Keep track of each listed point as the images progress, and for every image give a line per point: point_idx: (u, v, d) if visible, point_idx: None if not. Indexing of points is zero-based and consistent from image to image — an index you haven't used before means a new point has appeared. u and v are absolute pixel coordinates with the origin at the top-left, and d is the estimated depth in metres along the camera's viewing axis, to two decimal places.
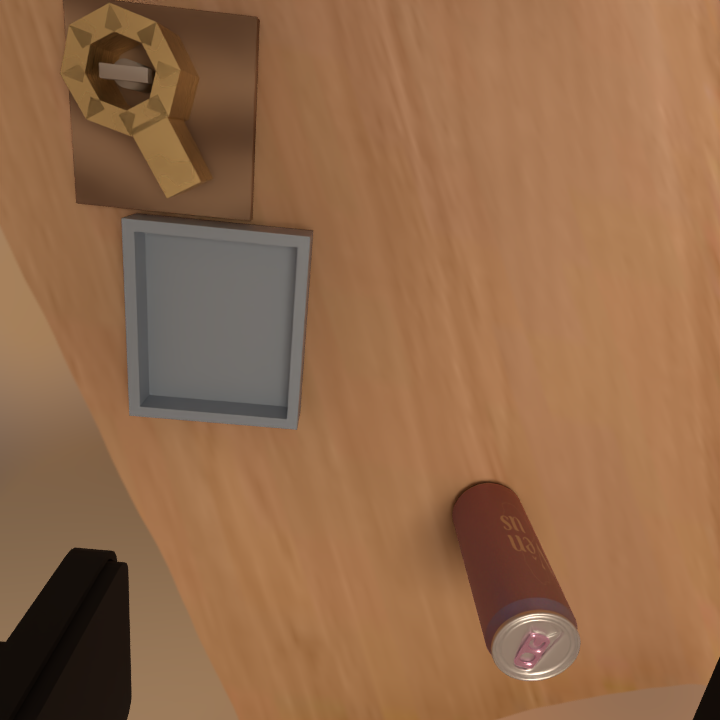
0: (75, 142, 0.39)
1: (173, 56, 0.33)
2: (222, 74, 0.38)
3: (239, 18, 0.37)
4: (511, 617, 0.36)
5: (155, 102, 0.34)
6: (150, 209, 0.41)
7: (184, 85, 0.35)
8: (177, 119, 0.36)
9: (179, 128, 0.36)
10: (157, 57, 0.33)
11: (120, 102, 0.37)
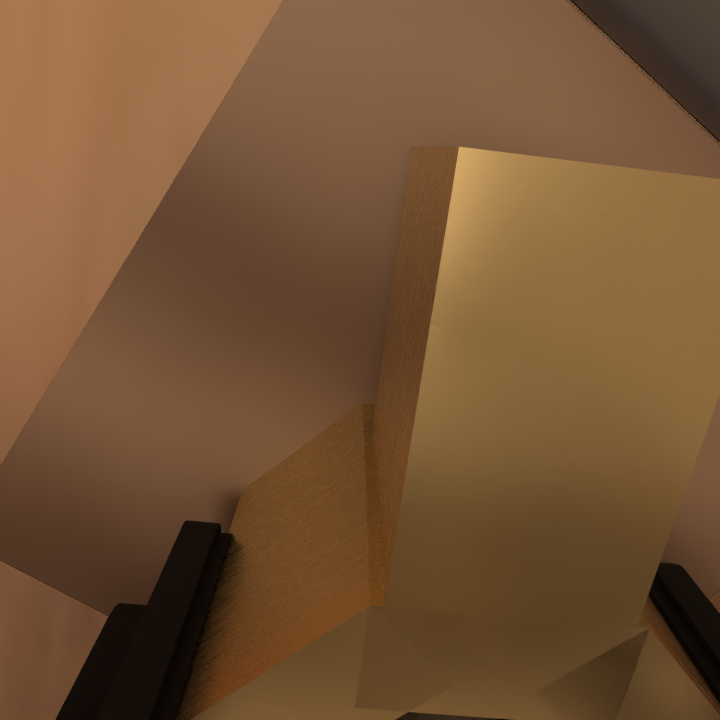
0: None
1: None
2: (159, 460, 0.10)
3: (16, 560, 0.11)
4: None
5: (392, 684, 0.06)
6: None
7: (245, 589, 0.07)
8: (375, 480, 0.07)
9: (385, 463, 0.07)
10: None
11: None
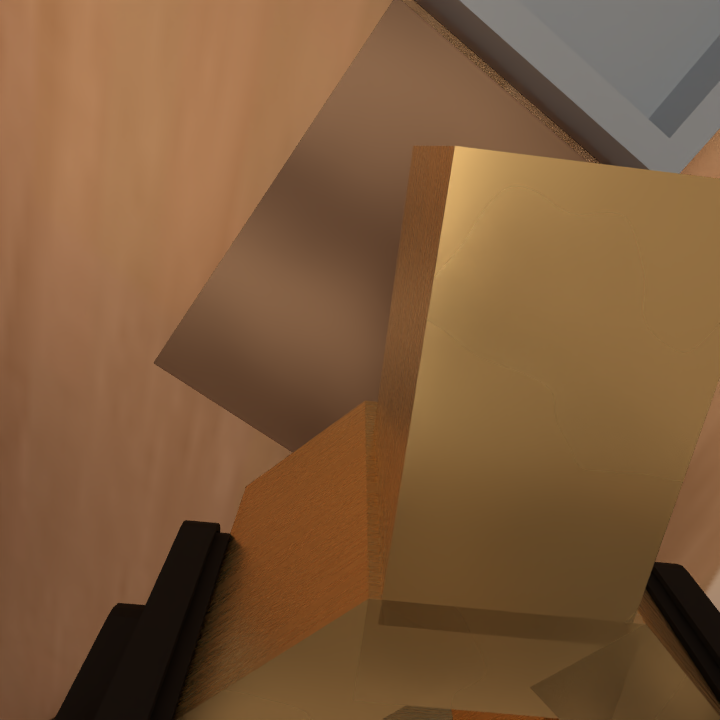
0: None
1: None
2: (269, 316, 0.18)
3: (185, 377, 0.19)
4: None
5: (390, 678, 0.06)
6: None
7: (246, 583, 0.07)
8: (376, 477, 0.07)
9: (385, 460, 0.07)
10: None
11: None
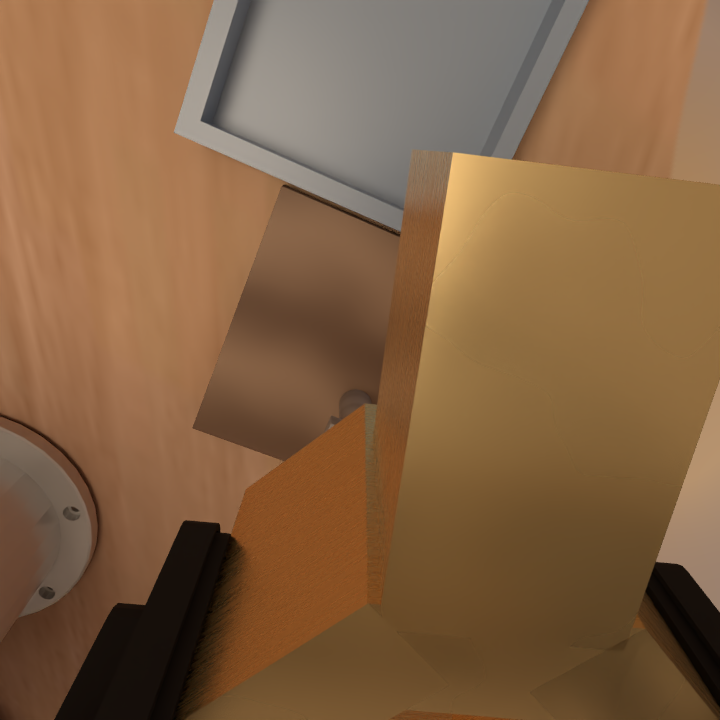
0: None
1: None
2: (256, 383, 0.28)
3: (214, 432, 0.29)
4: None
5: (389, 682, 0.06)
6: None
7: (246, 587, 0.07)
8: (375, 481, 0.07)
9: (384, 464, 0.07)
10: None
11: None
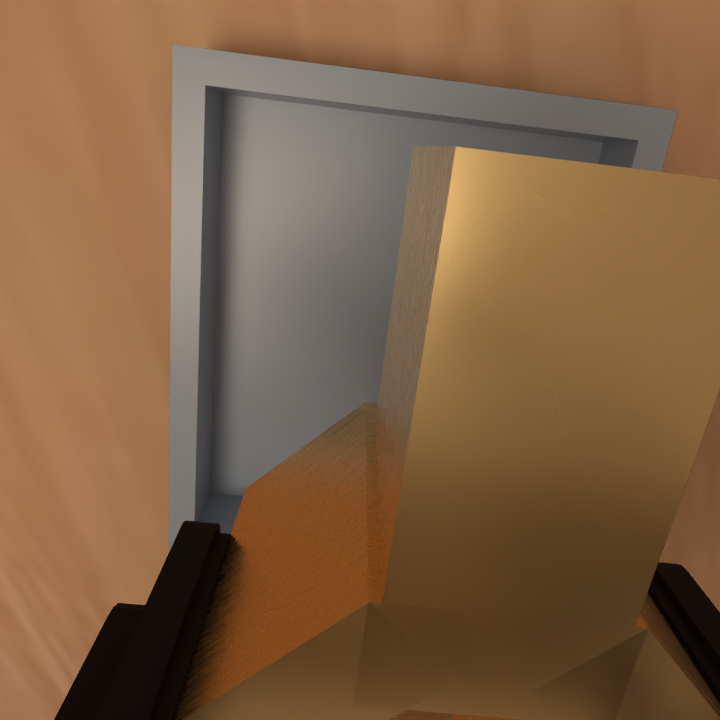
0: None
1: None
2: None
3: None
4: None
5: (390, 682, 0.06)
6: None
7: (246, 586, 0.07)
8: (376, 479, 0.07)
9: (385, 462, 0.07)
10: None
11: None
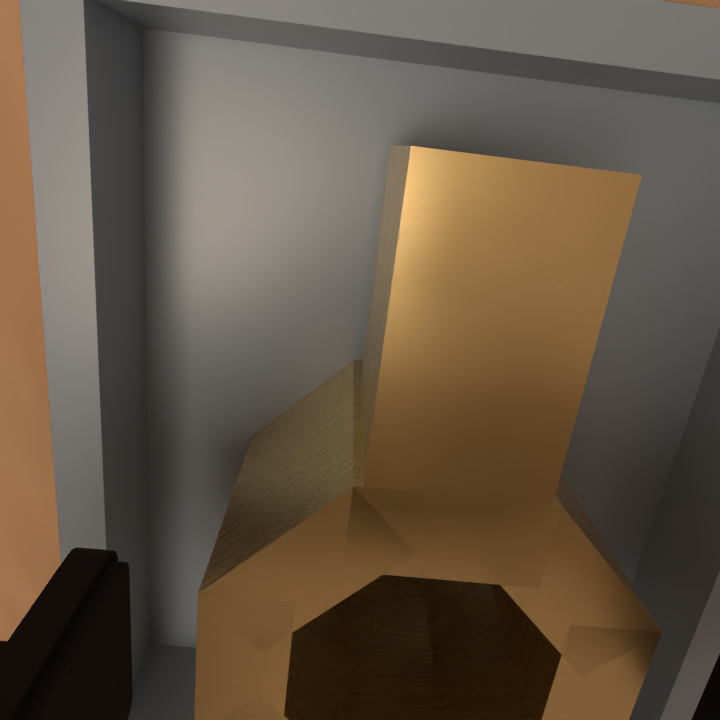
0: None
1: (200, 633, 0.08)
2: None
3: None
4: None
5: (370, 552, 0.08)
6: None
7: (257, 497, 0.09)
8: (361, 412, 0.09)
9: (367, 392, 0.08)
10: (258, 660, 0.08)
11: None
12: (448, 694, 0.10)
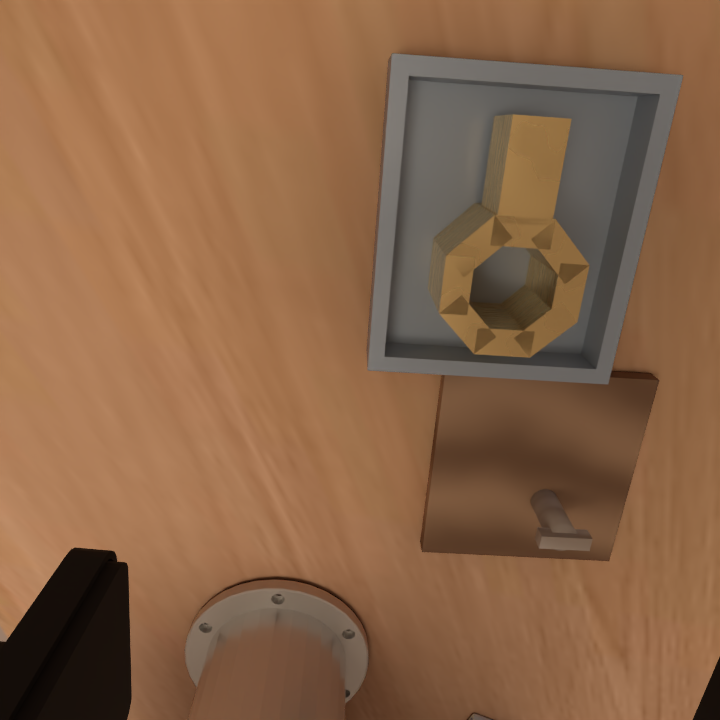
0: (638, 442, 0.34)
1: (444, 272, 0.26)
2: (462, 507, 0.36)
3: (439, 550, 0.37)
4: None
5: (498, 238, 0.25)
6: None
7: (453, 238, 0.27)
8: (487, 208, 0.27)
9: (492, 196, 0.26)
10: (462, 281, 0.26)
11: (536, 261, 0.29)
12: (519, 318, 0.28)
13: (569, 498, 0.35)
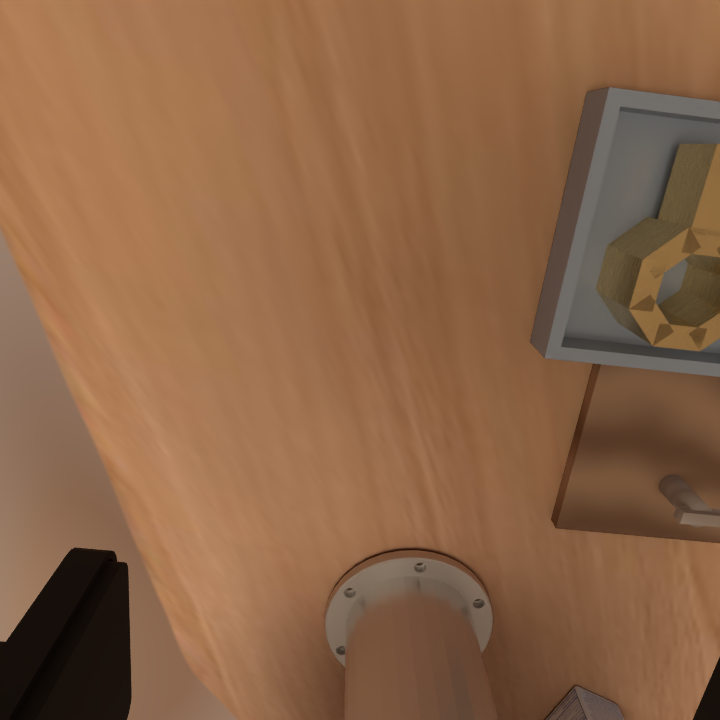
0: None
1: (638, 274, 0.30)
2: (597, 488, 0.40)
3: (571, 527, 0.41)
4: None
5: (689, 247, 0.30)
6: None
7: (641, 245, 0.31)
8: (671, 221, 0.31)
9: (680, 211, 0.31)
10: (653, 282, 0.31)
11: (697, 269, 0.34)
12: (687, 317, 0.33)
13: (693, 483, 0.40)
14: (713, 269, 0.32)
